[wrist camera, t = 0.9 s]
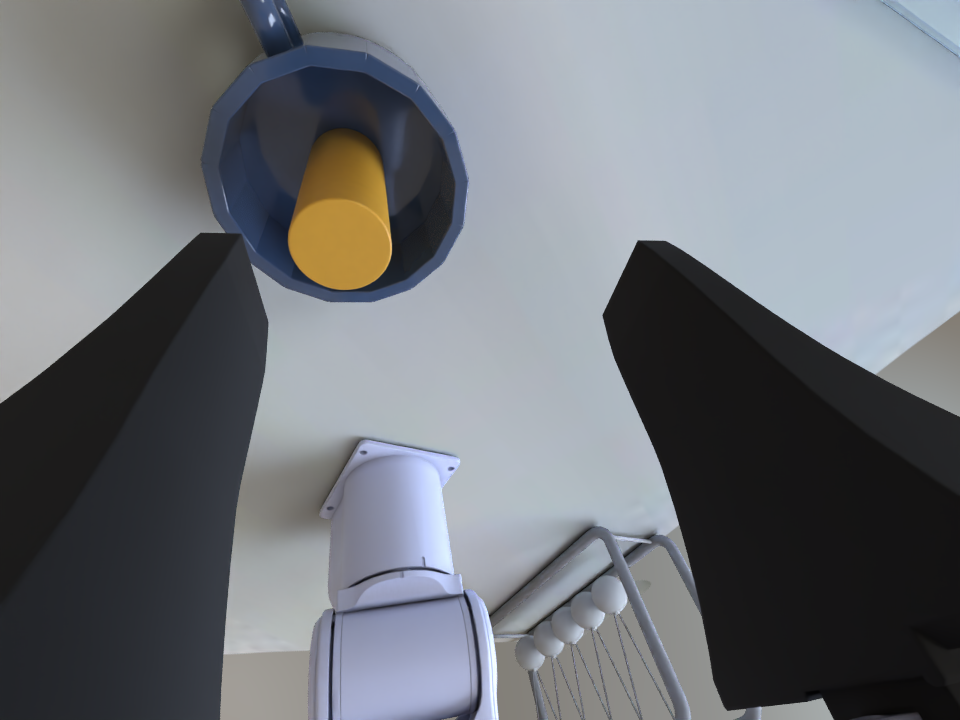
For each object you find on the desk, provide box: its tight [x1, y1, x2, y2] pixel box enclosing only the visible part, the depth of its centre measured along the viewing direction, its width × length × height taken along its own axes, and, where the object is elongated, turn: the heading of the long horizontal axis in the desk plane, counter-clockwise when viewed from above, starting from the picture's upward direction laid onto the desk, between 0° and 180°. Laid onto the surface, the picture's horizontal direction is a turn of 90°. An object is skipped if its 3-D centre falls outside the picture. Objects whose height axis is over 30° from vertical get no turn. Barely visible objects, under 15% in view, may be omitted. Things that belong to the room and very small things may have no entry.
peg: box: [288, 128, 392, 290], centre depth 16 cm, size 3×3×8 cm
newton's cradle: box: [489, 527, 761, 720], centre depth 49 cm, size 30×10×18 cm, turn 150°
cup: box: [201, 0, 469, 302], centre depth 17 cm, size 12×9×4 cm
